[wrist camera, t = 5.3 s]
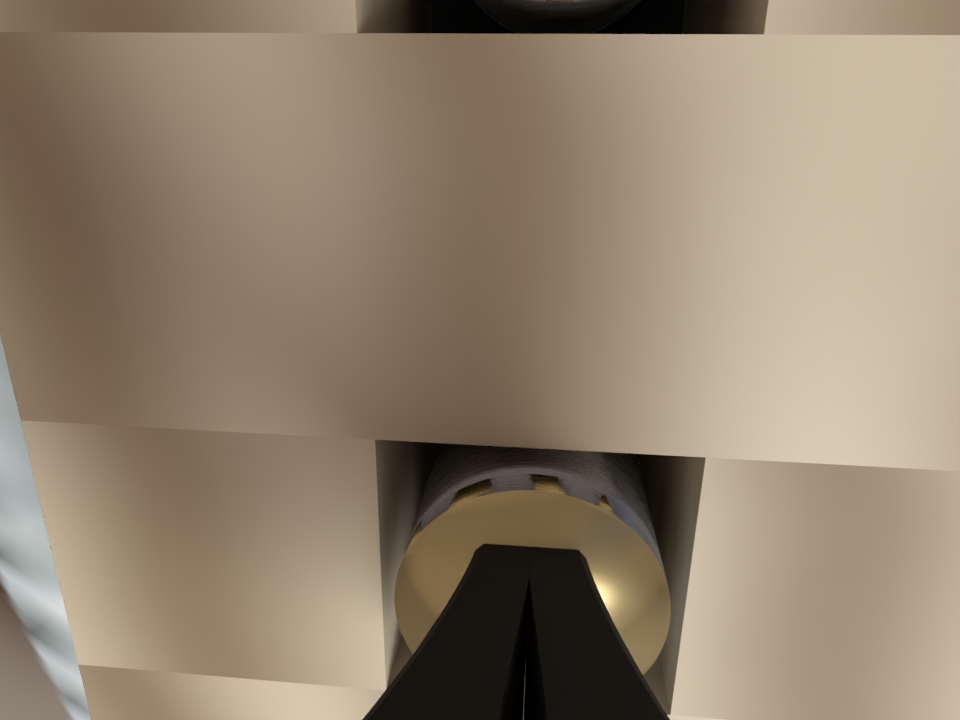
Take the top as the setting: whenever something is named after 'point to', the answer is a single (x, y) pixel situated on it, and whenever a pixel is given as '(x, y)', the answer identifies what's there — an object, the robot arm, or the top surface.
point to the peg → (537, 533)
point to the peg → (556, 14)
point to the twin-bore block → (486, 331)
